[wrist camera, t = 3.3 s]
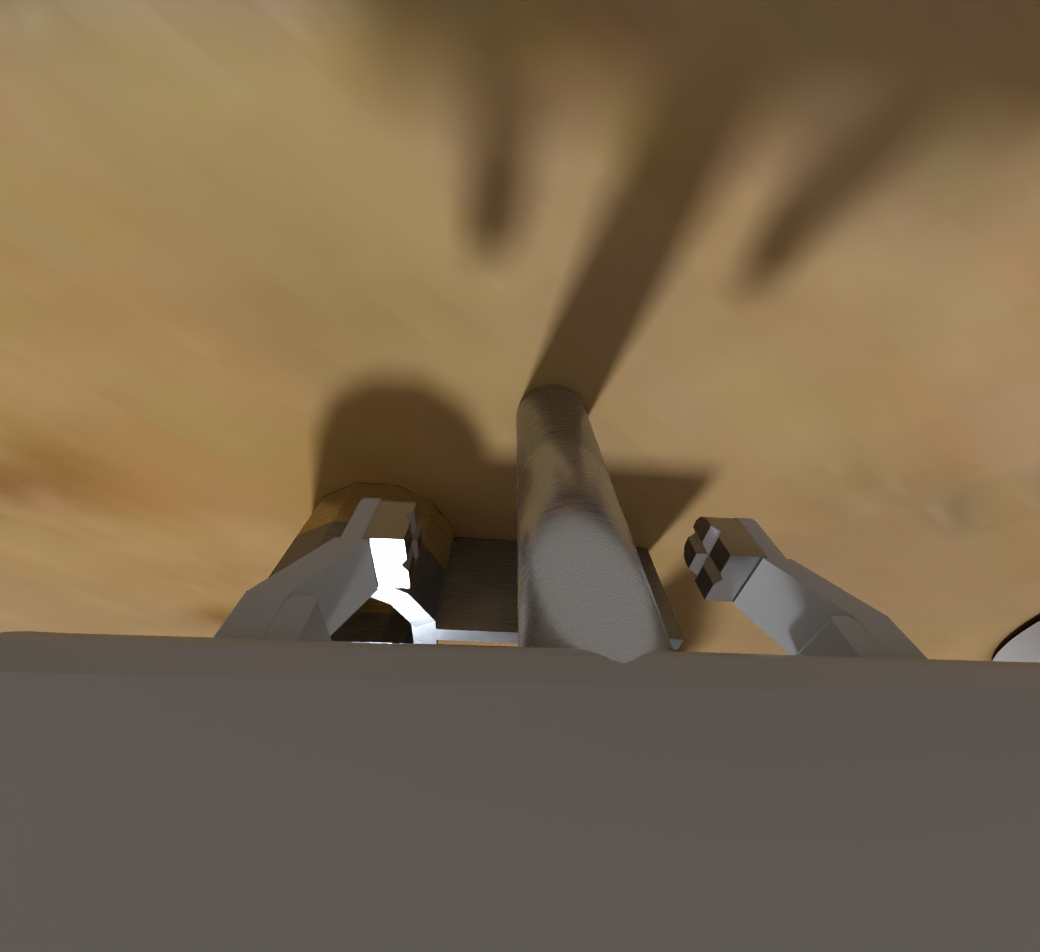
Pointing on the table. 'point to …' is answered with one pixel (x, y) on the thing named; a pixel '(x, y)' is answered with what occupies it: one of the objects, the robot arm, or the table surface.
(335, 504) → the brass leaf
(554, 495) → the hinge pin
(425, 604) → the steel leaf
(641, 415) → the table surface
